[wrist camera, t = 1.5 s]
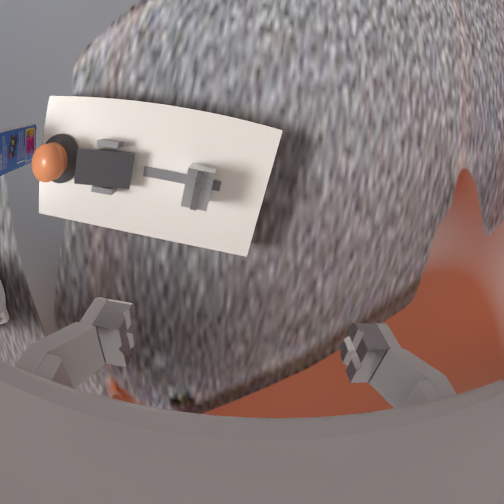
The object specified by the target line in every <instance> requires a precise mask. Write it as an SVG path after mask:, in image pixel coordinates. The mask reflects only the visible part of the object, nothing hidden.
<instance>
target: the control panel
mask: <svg viewBox="0 0 504 504" xmlns="http://www.w3.org/2000/svg"><path fill="white" fill-rule="evenodd" d="M282 131H283V130H280V129H276V128H272V127H269V126H265V125H261V124H258V123H254V122H250V121H246V120H241V119H237V118H233V117H229V116H224V115H219V114H215V113H210V112H205V111H200V110H194V109H189V108H183V107H177V106H171V105H164V104H157V103H150V102H141V101H133V100H123V99H112V98H98V97H77V96H50V97H49V103H48V108H47V114H46V120H45V127H44V134H43V143H42V145H43V144H48V143H52V142H56V143H59V144H61V145H62V146H63V147H64V149H65V151H66V153H67V159H68V161H67V167H66V170H65V172H64V173H63V175H62V176H60V177H59V178H57V179H55V180H52V181H50V182H41V181H40V184H39V213H41V214H46V215H50V216H56V217H60V218H64V219H69V220H74V221H78V222H83V223H88V224H92V225H97V226H102V227H107V228H111V229H116V230H121V231H125V232H130V233H135V234H140V235H144V236H149V237H154V238H159V239H164V240H168V241H173V242H178V243H183V244H188V245H192V246H197V247H202V248H207V249H212V250H217V251H222V252H226V253H231V254H236V255H241V256H246V257H247V254H248V250H249V247H250V243H251V240H252V236H253V233H254V229H255V226H256V222H257V219H258V215H259V212H260V208H261V205H262V201H263V198H264V194H265V191H266V187H267V184H268V180H269V177H270V173H271V170H272V166H273V163H274V159H275V156H276V152H277V149H278V145H279V142H280V138H281V135H282ZM79 147H87V148H98V149H108V150H118V151H127V152H135V158H134V164H133V171H132V177H131V184H130V188H129V189H121V188H112V187H103V186H94V185H84V184H74V178H75V167H76V158H77V150H78V148H79ZM192 163H196V164H201V165H205V166H210V167H215V168H217V169H216V173H215V177H214V181H213V185H212V190H211V194H210V199H209V203H208V207H207V211H202V210H196V211H195V210H190V208H188V207H183V206H181V202H182V197H183V191H184V186H185V181H186V177H187V172H188V168H189V166H190V165H191V164H192Z"/></svg>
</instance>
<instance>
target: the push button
mask: <svg viewBox="0 0 504 504" xmlns="http://www.w3.org/2000/svg"><path fill="white" fill-rule="evenodd" d="M67 161H68V159H67V153H66V151H65V149H64V147H63V146H62V145H61V144H59V143H56V142H52V143H48V144H43V145H41V146H39V147H38V148H37V149H36V150H35V152H34V154H33V157H32V170H33V173H34V175H35V177H36V178H37V179H38V180H39V181H41V182H50V181H52V180H55V179H57V178H59V177H60V176H62V175H63V173H64V172H65V170H66V167H67Z"/></svg>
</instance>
